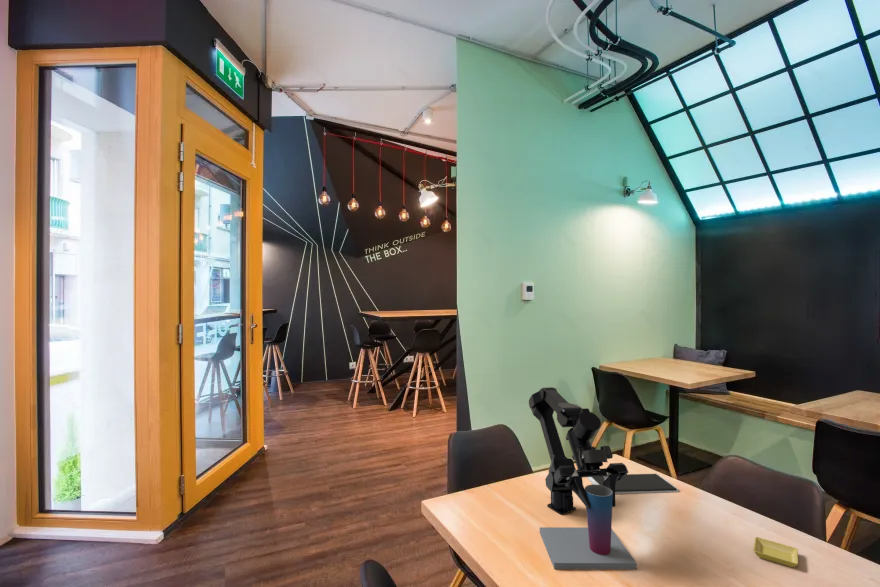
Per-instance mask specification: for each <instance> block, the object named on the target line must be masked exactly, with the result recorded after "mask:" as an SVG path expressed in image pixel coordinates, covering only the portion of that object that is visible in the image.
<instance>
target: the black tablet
mask: <svg viewBox="0 0 880 587" xmlns="http://www.w3.org/2000/svg"><path fill="white" fill-rule="evenodd" d="M587 480H588V481H589V482H590V483H591V485H602V486H603V482H604V481H605V480H604V477H603V476H600V477H587ZM679 491H680V490H679V488H678V487H676V486H675V485H674V484H672V483H671V482H670V481H669V480H667V479H665V478H664V477H663V476H661V475H660V474H658V473H633V474H632V473H630V474H629V473H627V475H626V476H625V477H624V478H623V479H622V480H620V481H616V485H615V495H624V494H625V495H626V494H627V495H629V494H657V493H659V494H660V493H661V494H662V493H679Z"/></svg>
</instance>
